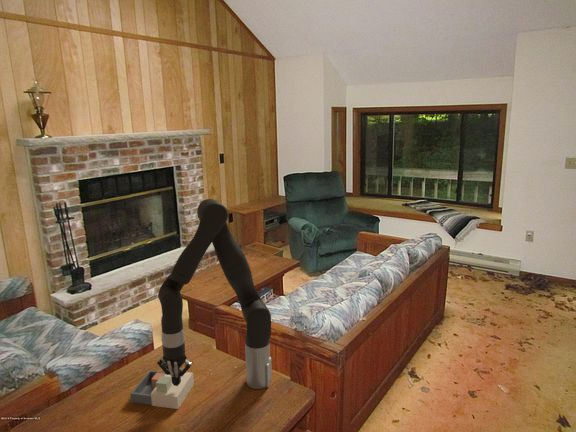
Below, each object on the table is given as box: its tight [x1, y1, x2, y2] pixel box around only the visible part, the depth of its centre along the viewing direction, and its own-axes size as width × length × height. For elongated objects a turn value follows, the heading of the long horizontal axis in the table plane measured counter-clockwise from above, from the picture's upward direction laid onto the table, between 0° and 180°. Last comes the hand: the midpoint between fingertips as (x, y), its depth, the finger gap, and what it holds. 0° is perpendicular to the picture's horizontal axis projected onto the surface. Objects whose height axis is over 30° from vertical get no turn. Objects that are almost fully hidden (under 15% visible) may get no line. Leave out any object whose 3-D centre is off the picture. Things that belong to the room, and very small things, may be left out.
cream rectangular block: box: [151, 371, 195, 410], centre depth 155 cm, size 10×14×5 cm
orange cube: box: [152, 373, 165, 388], centre depth 160 cm, size 4×4×4 cm
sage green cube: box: [156, 376, 172, 393], centre depth 151 cm, size 4×4×4 cm
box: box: [130, 369, 166, 406], centre depth 157 cm, size 8×14×4 cm, turn 169°
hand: (176, 384), depth 150 cm, fingers closed
